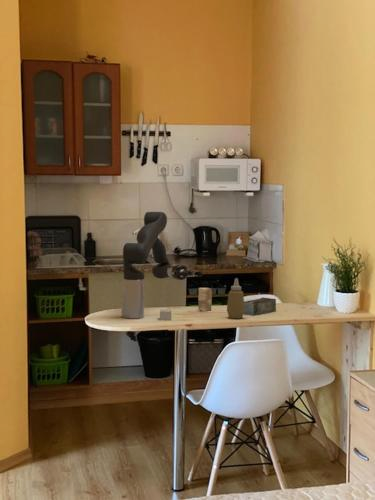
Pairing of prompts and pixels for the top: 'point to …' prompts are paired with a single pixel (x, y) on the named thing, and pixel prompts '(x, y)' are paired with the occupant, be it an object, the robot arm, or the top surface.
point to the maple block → (205, 299)
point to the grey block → (165, 314)
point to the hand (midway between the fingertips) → (194, 274)
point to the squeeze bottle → (235, 301)
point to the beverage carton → (259, 306)
